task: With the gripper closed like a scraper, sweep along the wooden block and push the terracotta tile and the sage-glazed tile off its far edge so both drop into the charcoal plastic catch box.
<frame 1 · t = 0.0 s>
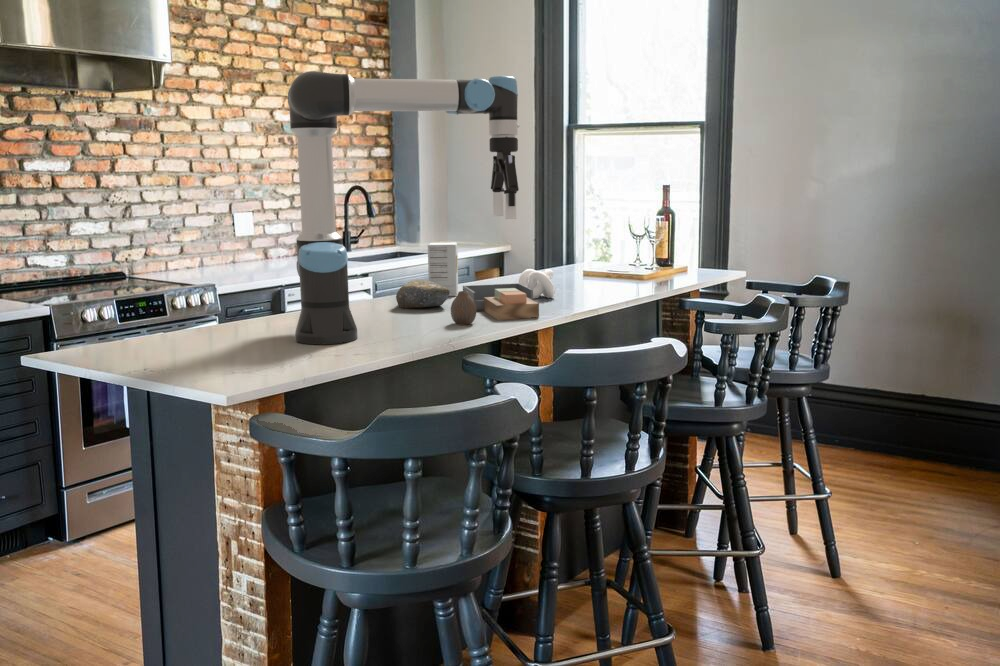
hand: (504, 217, 246), 28 cm above the table, fingers open, 13 cm apart
wooden block: (510, 314, 260), on the table
vase: (463, 324, 246), on the table
white knot sculpture: (540, 298, 291), on the table
catch box: (497, 305, 276), on the table
supplement box: (443, 295, 301), on the table
stone: (422, 308, 275), on the table
tile b: (507, 298, 263), point 4 cm above the table, touching wooden block
tile a: (513, 301, 257), point 4 cm above the table, touching wooden block
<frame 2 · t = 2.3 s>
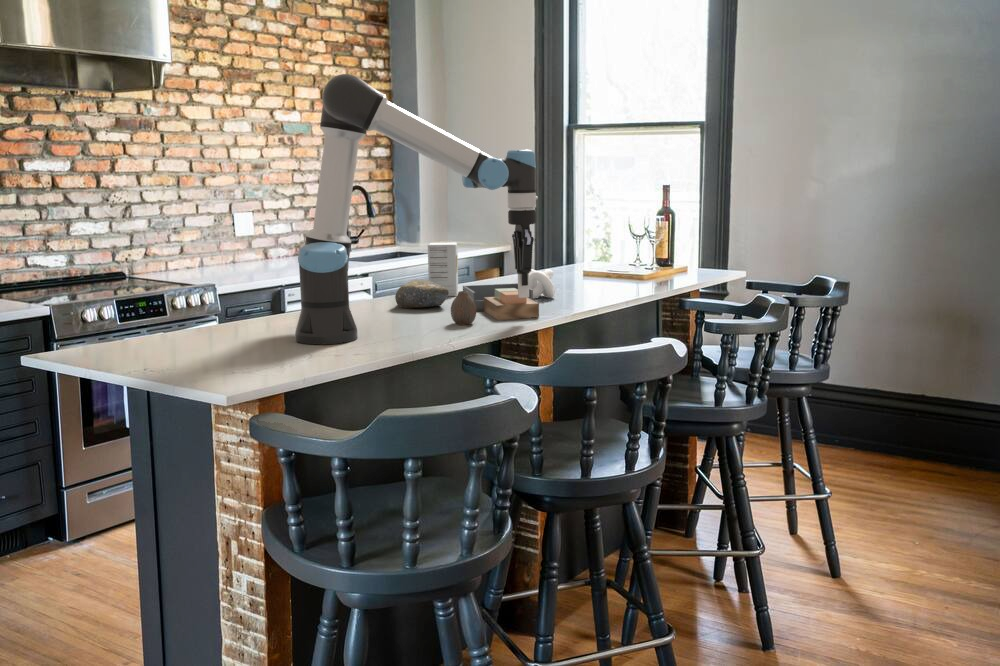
hand: (523, 297, 247), 7 cm above the table, fingers closed
nothing on the table moved.
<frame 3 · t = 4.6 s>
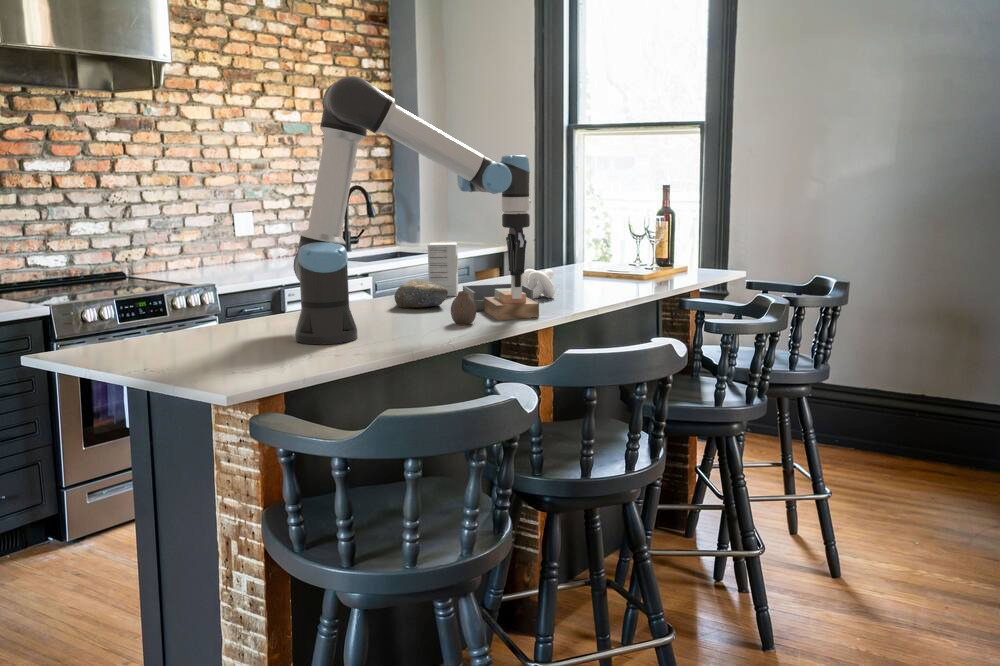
hand: (516, 298, 253), 5 cm above the table, fingers closed
tile a: (513, 301, 257), point 4 cm above the table, touching gripper, wooden block
everything else where it was.
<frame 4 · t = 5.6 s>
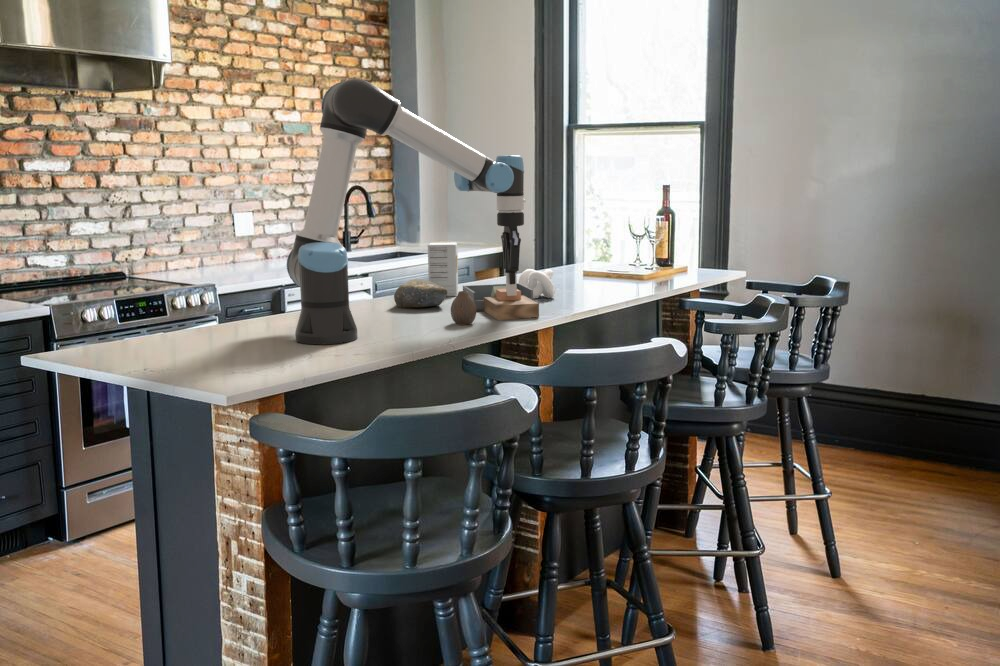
hand: (511, 295, 259), 6 cm above the table, fingers closed
tile b: (503, 298, 268), point 3 cm above the table, tilted 46°, touching catch box, wooden block
tile a: (508, 298, 263), point 4 cm above the table, touching gripper, wooden block
everything else where it was.
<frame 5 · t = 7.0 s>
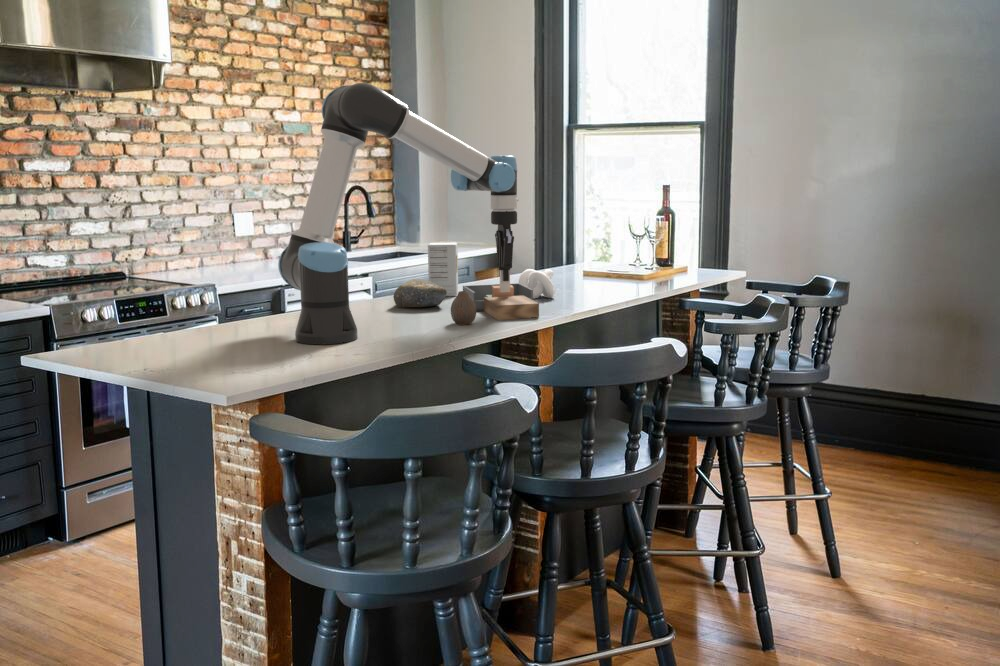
hand: (504, 291, 266), 5 cm above the table, fingers closed
tile b: (497, 296, 275), point 3 cm above the table, tilted 180°, touching catch box
tile a: (503, 297, 269), point 3 cm above the table, tilted 83°, touching catch box
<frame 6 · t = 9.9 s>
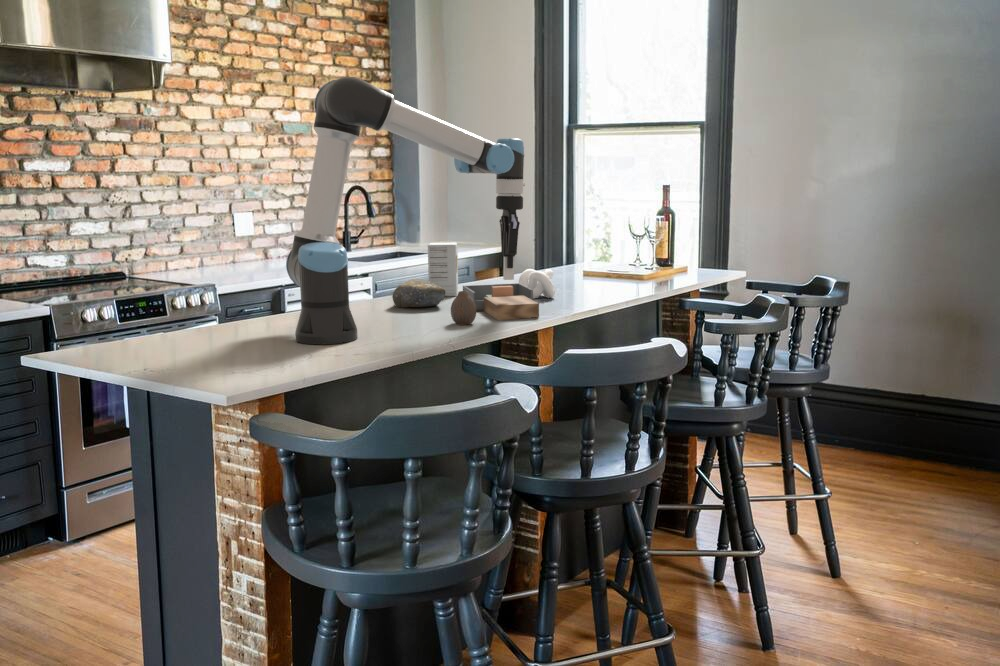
hand: (508, 279, 258), 10 cm above the table, fingers closed
tile a: (503, 297, 269), point 3 cm above the table, tilted 90°, touching catch box
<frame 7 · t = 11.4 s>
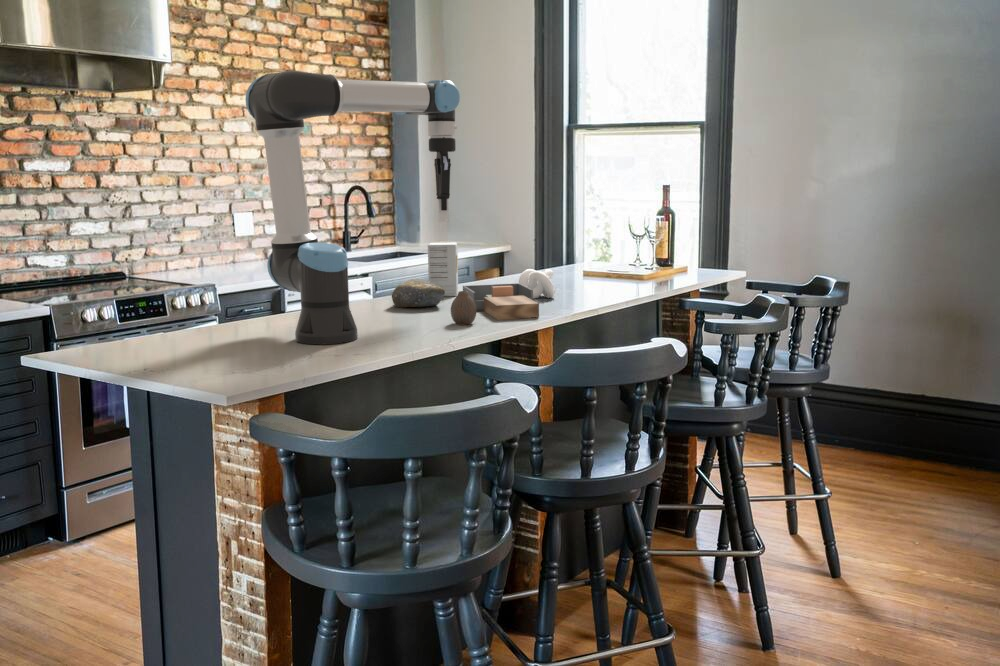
hand: (443, 222, 260), 26 cm above the table, fingers closed
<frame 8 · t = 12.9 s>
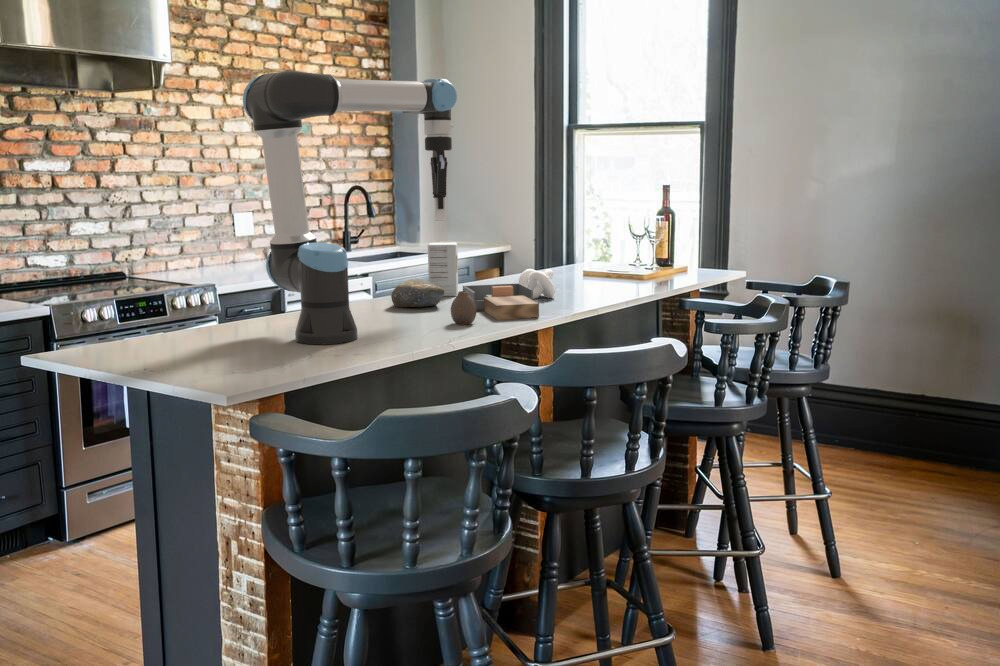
hand: (440, 220, 261), 26 cm above the table, fingers closed
at the end: tile a inside the target area on the catch box (6.2 cm from its centre), point 3.5 cm above the catch box's base; tile b inside the target area on the catch box (0.1 cm from its centre), point 3.0 cm above the catch box's base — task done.
